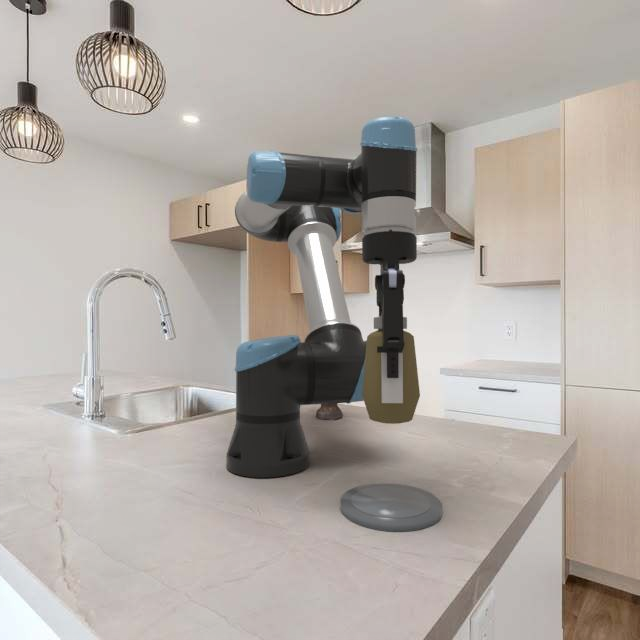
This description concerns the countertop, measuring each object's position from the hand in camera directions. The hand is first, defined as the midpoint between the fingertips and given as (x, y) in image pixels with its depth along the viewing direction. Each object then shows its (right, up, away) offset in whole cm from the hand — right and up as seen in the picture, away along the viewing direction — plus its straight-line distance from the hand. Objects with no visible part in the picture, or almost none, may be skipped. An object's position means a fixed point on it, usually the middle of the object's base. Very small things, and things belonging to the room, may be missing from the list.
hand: (390, 396), depth 64 cm
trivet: (0, -16, 0) cm, 16 cm away
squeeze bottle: (0, -3, 0) cm, 3 cm away
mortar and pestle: (-8, -16, +61) cm, 64 cm away
